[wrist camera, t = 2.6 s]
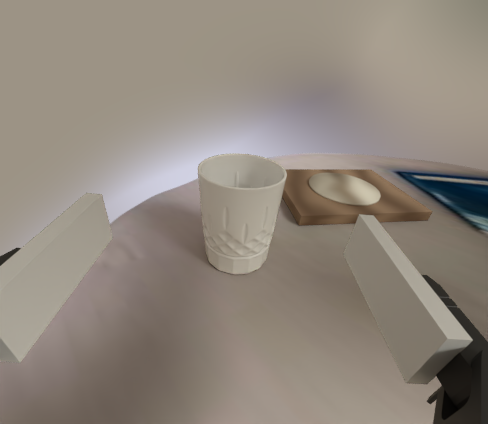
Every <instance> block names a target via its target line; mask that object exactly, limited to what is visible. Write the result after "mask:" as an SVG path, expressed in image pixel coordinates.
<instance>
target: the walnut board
mask: <svg viewBox="0 0 488 424" xmlns="http://www.w3.org/2000/svg"><path fill="white" fill-rule="evenodd" d="M286 173H287V177H286V182H285V186H284V190H283V195H282V197H283V199H284V201H285V202H286V204H287V206H288V208H289V209H290V211H291V213H292V214H293V216H294V218H295V219H296V221H297V223H298V225H322V224H346V223H356V221H357V218H358V216H359V214H362V215H374V217H375V218H376V219H377V220H378V222H396V221H421V220H428V219H429V217H430V215H431V213H432V211H431V210H429V209H428V208H426V207H425V206H424V205H422V204H421V203H419V202H418V201H416V200H415V199H413V198H412V197H410V196H409V195H407V194H406V193H404V192H403V191H401V190H400V189H399V188H397V187H396V186H394V185H393V184H391V183H390V182H388V181H387V180H385V179H384V178H382V177H381V176H379V175H378V174H377V173H375V172H374V171H372V170H286Z"/></svg>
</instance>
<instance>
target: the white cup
mask: <svg viewBox="0 0 488 424" xmlns="http://www.w3.org/2000/svg"><path fill="white" fill-rule="evenodd" d="M286 177H287V173H286V170H285V169H284V168H283V167H282V166H281V165H280V164H278V163H276V162H275V161H272V160H270V159H267V158H264V157H260V156H256V155H249V154H222V155H217V156H213V157H210V158H208V159H205V160H204V161H202V162H201V163H200V164H199V166H198V178H199V191H200V204H201V215H202V223H203V234H204V238H205V250H206V255H207V258H208V260H209V263H211V264H212V265H213V266H214V267H215V268H217V269H218V270H219V271H223V272H226V273H229V274H248V273H250V272H253V271H255V270H257V269H259V268H260V267H261V266H262V265H263V263H264V262H265V261H266V259H267V254H268V250H269V245H270V241H271V239H272V236H273V233H274V228H275V224H276V221H277V217H278V212H279V208H280V204H281V199H282V195H283V190H284V186H285V182H286Z"/></svg>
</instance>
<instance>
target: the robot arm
mask: <svg viewBox="0 0 488 424" xmlns="http://www.w3.org/2000/svg"><path fill="white" fill-rule="evenodd" d="M112 238H113V235H112V232H111V228H110V224H109V220H108V216H107V212H106V209H105V205H104V201H103V197H102V194H91V193H86V194H85V195H84V196H82V197H81V198H80V199H79V200H78V201H76V202H75V203H74V204H73V205H72V206H71V207H69V208H68V209H67V210H66V211H65V212H64V213H62V214H61V215H60V216H59V217H58V218H56V219H55V220H54V221H53V222H52V223H50V224H49V225H48V226H47V227H46V228H45V229H43V230H42V231H41V232H40V233H39V234H38V235H37V236H35V237H34V238H33V239H32V240H31V241H29V242H28V243H27V244H26V245H25V246H23V247H22V248H16V249H14V250H12V251H10V252H8V253H6V254H4V255H2V256H0V362H13V363H21V361H22V360H23V359H24V357H25V356H26V355H27V353H28V352H29V350H30V349H31V348H32V346H33V345H34V344H35V342H36V341H37V340H38V338H39V337H40V336H41V334H42V333H43V332H44V330H45V329H46V328H47V326H48V325H49V323H50V322H51V321H52V319H53V318H54V317H55V315H56V314H57V313H58V311H59V310H60V309H61V307H62V306H63V305H64V303H65V302H66V301H67V299H68V298H69V296H70V295H71V294H72V292H73V291H74V290H75V288H76V287H77V286H78V284H79V283H80V282H81V280H82V279H83V278H84V276H85V275H86V274H87V272H88V271H89V269H90V268H91V267H92V265H93V264H94V263H95V261H96V260H97V259H98V257H99V256H100V255H101V253H102V252H103V251H104V249H105V248H106V247H107V245H108V244H109V242H110V241H111V240H112ZM343 255H344V257H345V259H346V261H347V263H348V265H349V267H350V269H351V271H352V273H353V275H354V277H355V279H356V281H357V283H358V286H359V288H360V290H361V292H362V294H363V296H364V298H365V300H366V302H367V304H368V306H369V308H370V310H371V312H372V314H373V316H374V318H375V320H376V322H377V325H378V327H379V329H380V331H381V333H382V335H383V337H384V339H385V341H386V343H387V345H388V347H389V349H390V351H391V353H392V355H393V357H394V359H395V362H396V364H397V366H398V368H399V370H400V372H401V374H402V376H403V378H404V380H405V382H406V383H412V384H428V383H429V382H430V381H431V380H432V379H433V378H434V377H435V376H437V378H438V379H439V381H440V383H441V384H442V386H441V387H440V388H439V389H438V390H437V391H436V392H434V393H433V394H432V395H431V396H430V397H429V399H428V400H427V402H428V403H429V404H431V403H433V402H434V401H435V400H436V399H437V401H436V408H435V415H434V422H433V424H488V342H487V341H486V340H485V338H484V337H483V336H482V335H481V334H480V332H479V331H478V330H477V329H476V328H475V326H474V325H473V324H472V323H471V322H470V321H469V319H468V318H467V317H466V316H465V315H464V313H463V312H462V311H461V310H460V309H459V308H457V305H456V304H455V303H454V302H453V300H452V299H449V296H448V294H447V293H446V292H445V291H444V290H443V289H442V287H441V286H440V285H439V284H437V283H436V282H435V281H434V280H432V279H431V278H430V277H428V276H427V275H421V274H420V273H419V272H418V271H417V269H416V268H415V267H414V266H413V264H412V263H411V262H410V260H409V259H408V258H407V257H406V255H405V254H404V253H403V252H402V250H401V249H400V248H399V247H398V245H397V244H396V243H395V242H394V240H393V239H392V238H391V237H390V235H389V234H388V233H387V232H386V230H385V229H384V228H383V227H382V225H381V224H380V223H379V222H378V220H377V219H376V218H375V217H374V215H362V214H359V216H358V218H357V221H356V223H355V226H354V228H353V231H352V233H351V236H350V238H349V241H348V243H347V246H346V248H345V251H344V253H343Z"/></svg>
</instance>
